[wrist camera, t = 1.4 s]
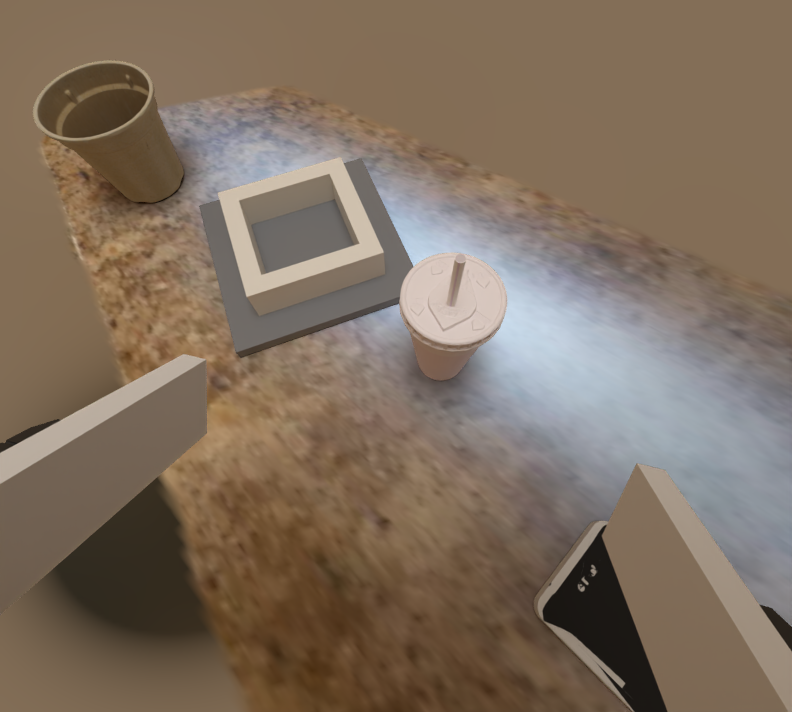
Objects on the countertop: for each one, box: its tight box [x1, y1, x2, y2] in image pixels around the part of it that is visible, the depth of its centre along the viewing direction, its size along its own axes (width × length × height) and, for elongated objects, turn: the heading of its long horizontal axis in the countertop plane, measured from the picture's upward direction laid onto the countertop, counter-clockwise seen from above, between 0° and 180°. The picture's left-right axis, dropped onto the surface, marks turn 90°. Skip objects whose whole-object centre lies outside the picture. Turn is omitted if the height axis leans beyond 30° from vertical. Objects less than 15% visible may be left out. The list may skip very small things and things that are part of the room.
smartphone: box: [534, 521, 668, 712], centre depth 25 cm, size 8×1×15 cm
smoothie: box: [399, 253, 507, 381], centre depth 27 cm, size 6×6×14 cm
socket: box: [199, 157, 413, 357], centre depth 36 cm, size 16×16×4 cm
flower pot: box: [33, 60, 184, 203], centre depth 37 cm, size 9×9×9 cm
